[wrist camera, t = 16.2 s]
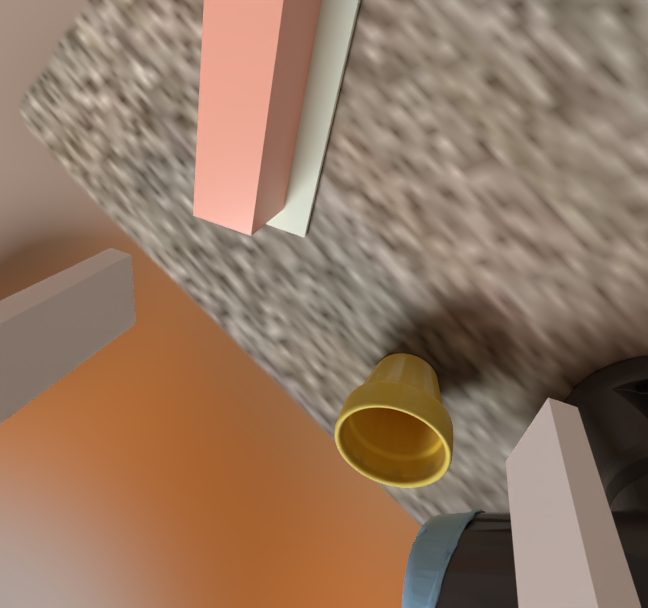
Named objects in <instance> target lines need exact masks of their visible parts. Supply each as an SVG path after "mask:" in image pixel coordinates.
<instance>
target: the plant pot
mask: <svg viewBox="0 0 648 608" xmlns="http://www.w3.org/2000/svg"><path fill="white" fill-rule="evenodd" d="M335 442H336V445H337V447H338V450H339V452H340V453H341V455H342V456H343V457H344V459H345V460H346V461H347V462H348V463H349V464H350V465H351V466H352V467H353V468H354V469H355V470H357V471H358V472H359V473H361V474H362V475H364V476H366V477H368V478H370V479H372V480H374V481H376V482H379V483H382V484H385V485H389V486H394V487H404V488H413V487H421V486H425V485H429V484H431V483H433V482H435V481H437V480H439V479H440V478H441V477H442V476H444V474H445V473H446V472H447V471H448V469H449V467H450V464H451V461H452V453H453V425H452V421H451V418H450V416H449V414H448V412H447V411H446V409H445V408H444V406H443V404H442V399H441V394H440V389H439V385H438V380H437V376H436V373H435V371H434V370H433V368H432V367H431V366H430V365H429V364H428V363H427V362H426V361H424V360H423V359H421V358H419V357H417V356H414V355H411V354H404V353H397V354H392V355H389V356H387V357H385V358H384V359H382V360H381V361H380V362H379V363H378V364H377V366H376V367H375V368H374V370H373V371H372V373H371V374H370V376H369V377H368V378H367V380H366V381H365V383H364V384H363V385H361V386H359V387H358V388H356V389H355V390H354V391H353V392H352V393H351V394H350V395H349V396H348V398H347V399H346V401H345V403H344V405H343V408H342V410H341V412H340V415H339V417H338V420H337V423H336V427H335Z"/></svg>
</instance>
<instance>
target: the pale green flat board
mask: <svg viewBox="0 0 648 608" xmlns="http://www.w3.org/2000/svg"><path fill="white" fill-rule="evenodd" d="M359 5H360V0H321V6H320V12H319V17H318V23H317V28H316V34H315V39H314V45H313V50H312V56H311V61H310V67H309V72H308V78H307V84H306V89H305V95H304V100H303V106H302V111H301V117H300V122H299V128H298V133H297V139H296V145H295V150H294V156H293V161H292V167H291V172H290V178H289V183H288V189H287V194H286V200H285V206H284V209H283V210H282V211H281V212H279V213H278V214H277V215H276V216H274V217H273V218H272V219H271V220H270V221H268V222H267V223H266V224H267V225H270V226H273V227H276V228H279V229H281V230H284V231H287V232H290V233H293V234H296V235H298V236H301V237H305V236H306V235H307V230H308V226H309V222H310V217H311V213H312V209H313V204H314V200H315V196H316V191H317V187H318V183H319V178H320V174H321V170H322V165H323V161H324V157H325V152H326V148H327V143H328V139H329V135H330V130H331V126H332V122H333V117H334V113H335V109H336V104H337V100H338V96H339V91H340V87H341V83H342V78H343V74H344V70H345V65H346V61H347V57H348V52H349V48H350V44H351V39H352V35H353V31H354V26H355V22H356V18H357V13H358V9H359Z"/></svg>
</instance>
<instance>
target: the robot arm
mask: <svg viewBox="0 0 648 608" xmlns="http://www.w3.org/2000/svg"><path fill="white" fill-rule="evenodd" d="M134 324H136V321H135V305H134V290H133V274H132V259H131V255H130V254H127V253H125V252H121V251H119V250H116V249H113V248H110V249H108V250H106V251H103V252H101V253H99V254H97V255H95V256H93V257H91V258H89V259H87V260H84V261H82V262H80V263H78V264H76V265H74V266H72V267H70V268H68V269H66V270H64V271H62V272H60V273H57V274H55V275H53V276H51V277H49V278H47V279H45V280H43V281H41V282H39V283H36V284H34V285H32V286H30V287H28V288H26V289H24V290H22V291H20V292H18V293H16V294H13V295H11V296H9V297H7V298H5V299H3V300H1V301H0V424H1V423H2V422H3V421H5V420H6V419H7V418H9V417H10V416H12V415H13V414H14V413H16V412H17V411H18V410H20V409H21V408H22V407H24V406H25V405H26V404H28V403H29V402H30V401H32V400H33V399H34V398H36V397H37V396H39V395H40V394H41V393H43V392H44V391H45V390H46V389H48V388H49V387H51V386H52V385H53V384H55V383H56V382H57V381H59V380H60V379H62V378H63V377H64V376H66V375H67V374H68V373H70V372H71V371H72V370H74V369H75V368H76V367H78V366H79V365H80V364H82V363H83V362H84V361H86V360H87V359H88V358H90V357H91V356H93V355H94V354H95V353H97V352H98V351H99V350H101V349H102V348H103V347H105V346H106V345H108V344H109V343H110V342H112V341H113V340H114V339H115V338H117V337H118V336H119V335H121V334H122V333H124V332H125V331H126V330H128V329H129V328H130V327H132V326H133V325H134ZM506 470H507V482H508V493H509V504H510V513H485V512H484V511H482V510H473V511H471V512H470V513H456V514H442V515H437V516H435V517H432V518H431V519H429V520H428V521H427V522H426V523H425V524H424V525H423V526H422V527H421V529H420V530H419V532H418V534H417V537H416V539H415V541H414V543H413V545H412V548H411V551H410V555H409V558H408V563H407V568H406V573H405V579H404V587H403V597H402V608H648V357H641V358H635V359H630V360H626V361H622V362H619V363H616V364H613V365H611V366H608V367H606V368H603V369H601V370H599V371H597V372H595V373H594V374H592V375H590V376H589V377H587V378H586V379H585V380H583V381H582V382H581V383H580V384H578V385H577V386H576V387H575V388H574V390H573V391H572V392H571V393H570V394H569V396H568V397H567V399H566V401H565V403H563V402H560V401H557V400H554V399H551V398H548V399H547V400H546V402H545V403H544V405H543V406H542V408H541V409H540V411H539V412H538V414H537V415H536V417H535V418H534V420H533V421H532V423H531V424H530V426H529V427H528V429H527V430H526V432H525V433H524V435H523V436H522V438H521V439H520V441H519V442H518V444H517V445H516V447H515V448H514V450H513V451H512V453H511V454H510V456H509V457H508V459H507V460H506Z"/></svg>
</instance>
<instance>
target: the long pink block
mask: <svg viewBox="0 0 648 608" xmlns="http://www.w3.org/2000/svg"><path fill="white" fill-rule="evenodd" d="M320 6H321V0H204V11H203V31H202V51H201V70H200V90H199V110H198V130H197V150H196V170H195V190H194V210H193V216H196V217H199V218H202V219H205V220H207V221H210V222H213V223H216V224H219V225H222V226H224V227H227V228H230V229H233V230H236V231H239V232H242V233H244V234H247V235H250V236H251V235H253V234H254V233H255V232H256V231H257V230H259V229H260V228H261V227H262V226H263V225H265V224H266V223H267V222H268V221H270V220H271V219H272V218H273V217H274V216H276V215H277V214H278V213H279V212H281V211H282V210H283V209H284V206H285V200H286V194H287V189H288V183H289V178H290V172H291V167H292V161H293V156H294V150H295V145H296V139H297V133H298V128H299V122H300V117H301V111H302V106H303V100H304V95H305V89H306V84H307V78H308V72H309V67H310V61H311V56H312V50H313V45H314V39H315V34H316V28H317V23H318V17H319V12H320Z"/></svg>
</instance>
